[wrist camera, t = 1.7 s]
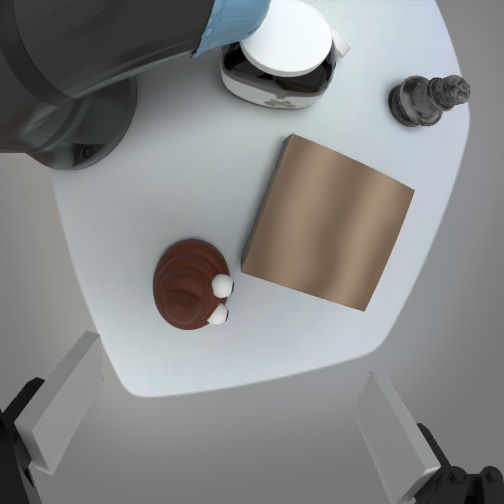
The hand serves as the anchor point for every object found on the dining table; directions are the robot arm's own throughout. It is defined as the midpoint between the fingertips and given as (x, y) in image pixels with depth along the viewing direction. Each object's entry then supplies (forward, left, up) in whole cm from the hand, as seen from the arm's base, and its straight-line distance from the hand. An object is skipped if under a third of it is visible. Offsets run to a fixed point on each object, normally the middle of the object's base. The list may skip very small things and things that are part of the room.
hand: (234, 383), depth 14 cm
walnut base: (+7, +7, -21) cm, 24 cm away
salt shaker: (+12, +24, -22) cm, 34 cm away
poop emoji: (-4, -4, -22) cm, 22 cm away
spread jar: (-3, +22, -22) cm, 31 cm away
